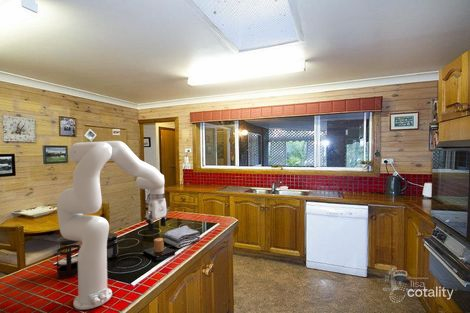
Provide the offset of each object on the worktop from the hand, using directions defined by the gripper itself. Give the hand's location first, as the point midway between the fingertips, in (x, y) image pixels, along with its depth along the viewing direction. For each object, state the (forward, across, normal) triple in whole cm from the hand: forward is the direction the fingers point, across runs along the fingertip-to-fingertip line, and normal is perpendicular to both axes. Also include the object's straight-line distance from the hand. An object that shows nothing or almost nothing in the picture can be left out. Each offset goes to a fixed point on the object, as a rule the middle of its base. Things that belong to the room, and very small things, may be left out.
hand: (157, 228), depth 130 cm
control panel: (+15, +1, 0) cm, 15 cm away
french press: (+16, -30, +25) cm, 42 cm away
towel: (+15, +22, -1) cm, 27 cm away
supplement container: (+15, -11, +24) cm, 30 cm away
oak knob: (+12, +1, 0) cm, 12 cm away
